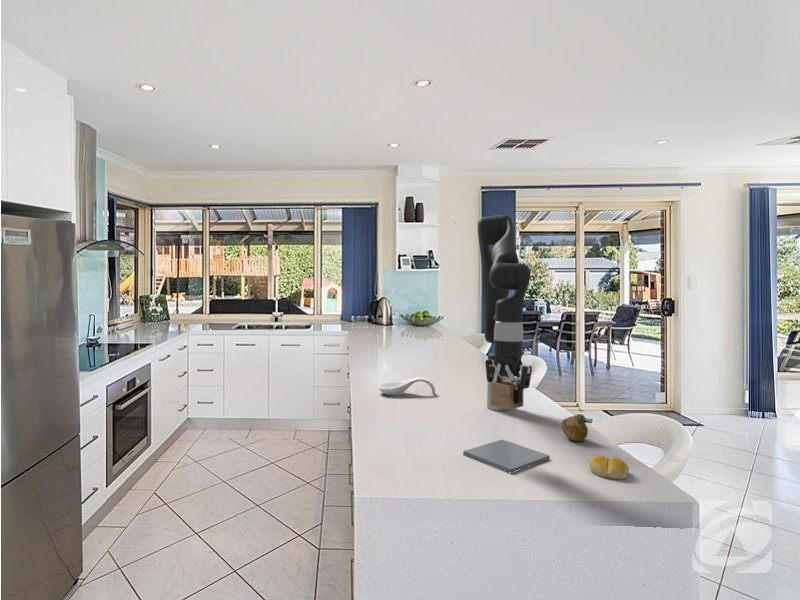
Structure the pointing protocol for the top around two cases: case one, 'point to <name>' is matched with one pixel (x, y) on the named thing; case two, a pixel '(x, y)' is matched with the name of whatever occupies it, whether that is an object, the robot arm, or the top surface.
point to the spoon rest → (403, 386)
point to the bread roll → (609, 467)
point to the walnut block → (504, 395)
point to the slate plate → (506, 455)
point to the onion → (575, 427)
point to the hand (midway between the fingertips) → (507, 401)
